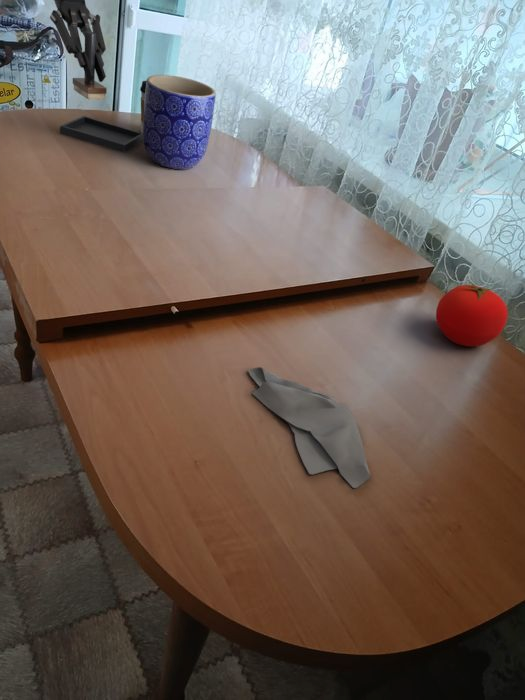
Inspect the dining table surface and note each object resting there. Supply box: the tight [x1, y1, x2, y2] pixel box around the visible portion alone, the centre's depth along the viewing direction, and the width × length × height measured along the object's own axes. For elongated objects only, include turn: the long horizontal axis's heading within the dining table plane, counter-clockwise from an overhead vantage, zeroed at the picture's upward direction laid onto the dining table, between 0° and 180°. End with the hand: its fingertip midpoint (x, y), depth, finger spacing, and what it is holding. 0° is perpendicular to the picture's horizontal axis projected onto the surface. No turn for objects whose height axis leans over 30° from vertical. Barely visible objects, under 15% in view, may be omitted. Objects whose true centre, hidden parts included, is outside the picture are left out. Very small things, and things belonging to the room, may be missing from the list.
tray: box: [59, 115, 144, 153], centre depth 159 cm, size 20×14×2 cm
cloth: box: [247, 366, 371, 490], centre depth 83 cm, size 26×14×2 cm, turn 27°
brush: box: [72, 31, 108, 101], centre depth 143 cm, size 8×5×15 cm, turn 42°
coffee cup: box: [139, 80, 147, 133], centre depth 165 cm, size 8×8×15 cm
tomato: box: [435, 280, 509, 347], centre depth 109 cm, size 12×14×11 cm
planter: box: [143, 74, 217, 170], centre depth 149 cm, size 18×18×21 cm
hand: (96, 78), depth 142 cm, fingers closed on brush, 3 cm apart
